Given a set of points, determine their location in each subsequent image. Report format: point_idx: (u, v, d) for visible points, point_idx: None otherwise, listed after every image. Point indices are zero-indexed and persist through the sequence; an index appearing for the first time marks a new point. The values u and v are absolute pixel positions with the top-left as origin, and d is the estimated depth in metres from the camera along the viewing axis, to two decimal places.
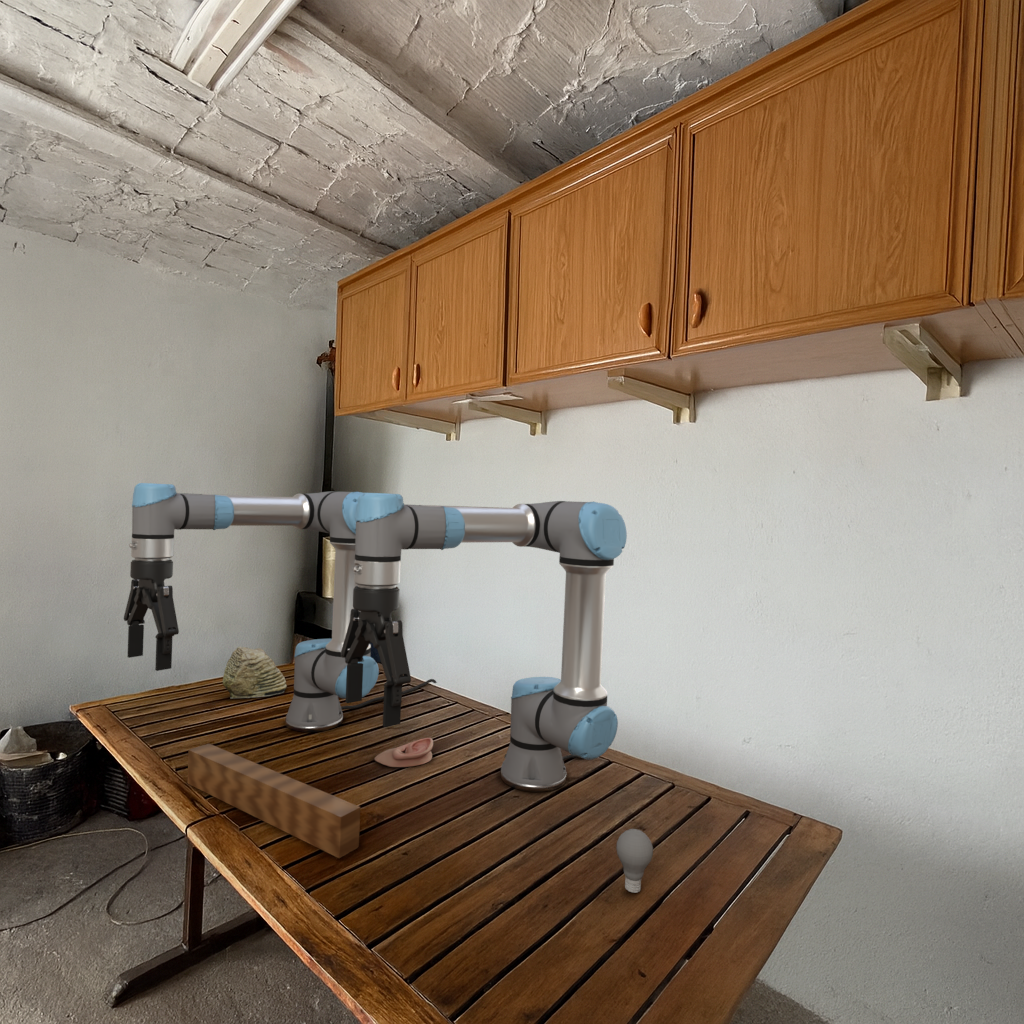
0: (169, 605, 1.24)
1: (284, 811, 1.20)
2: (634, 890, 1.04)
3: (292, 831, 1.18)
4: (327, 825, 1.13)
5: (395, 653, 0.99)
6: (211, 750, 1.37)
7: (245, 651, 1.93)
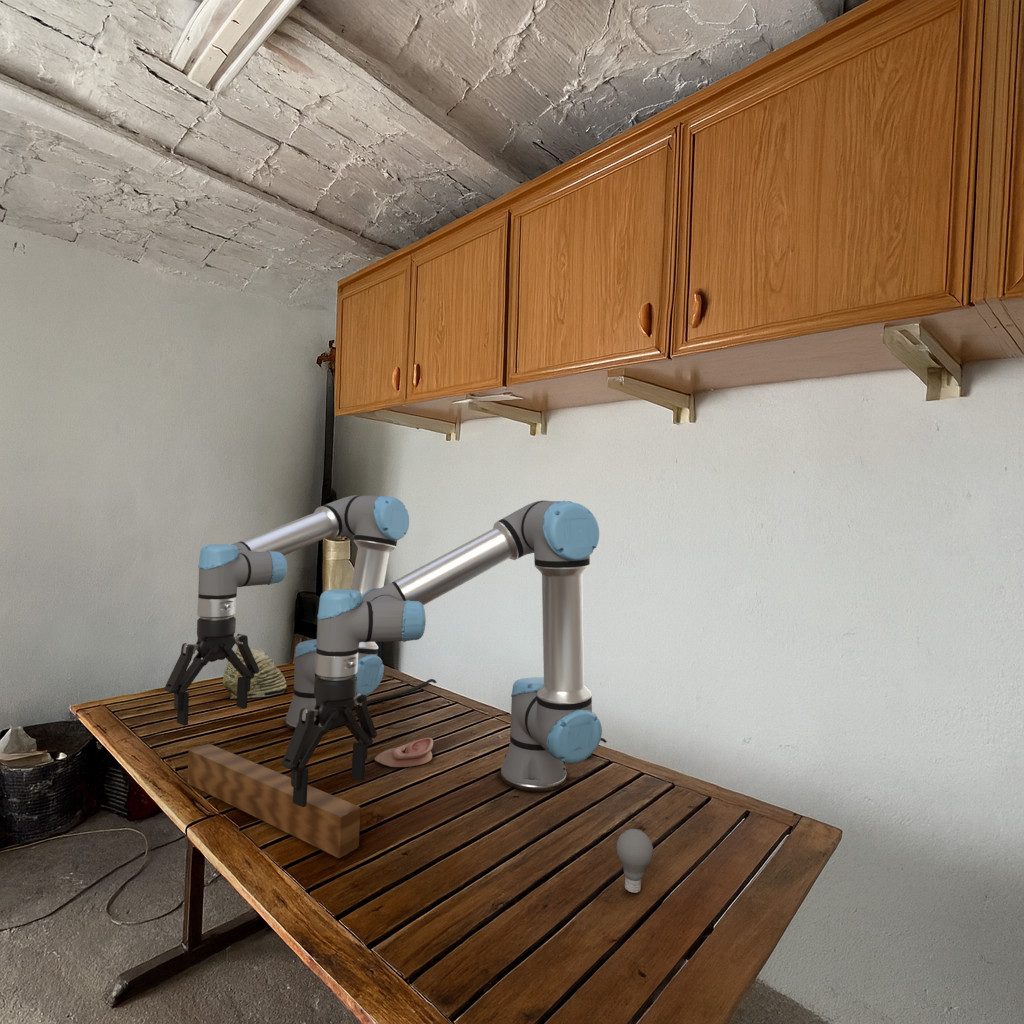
0: None
1: (284, 811, 1.20)
2: (634, 890, 1.04)
3: (292, 831, 1.18)
4: (327, 825, 1.13)
5: None
6: (211, 750, 1.37)
7: None
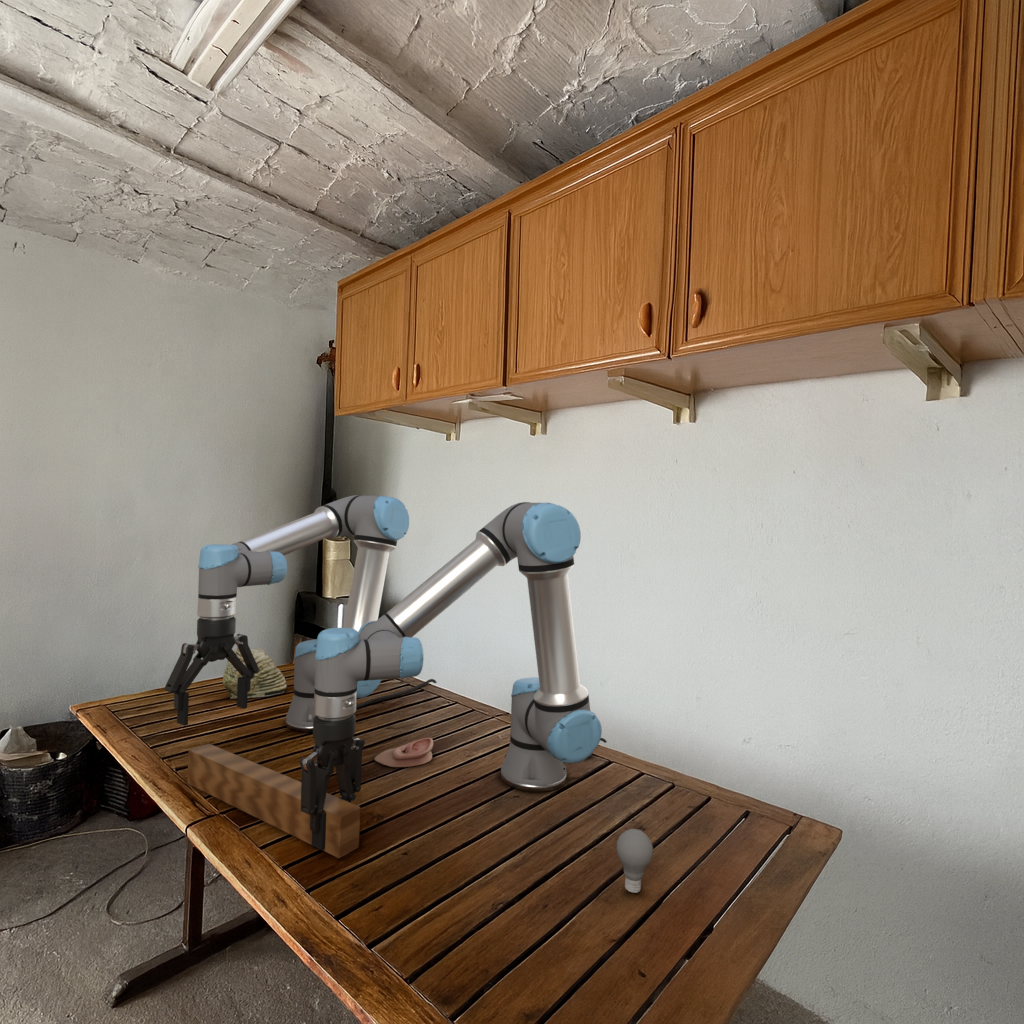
0: None
1: (284, 811, 1.20)
2: (634, 890, 1.04)
3: (292, 831, 1.18)
4: (326, 825, 1.13)
5: None
6: (210, 750, 1.37)
7: None
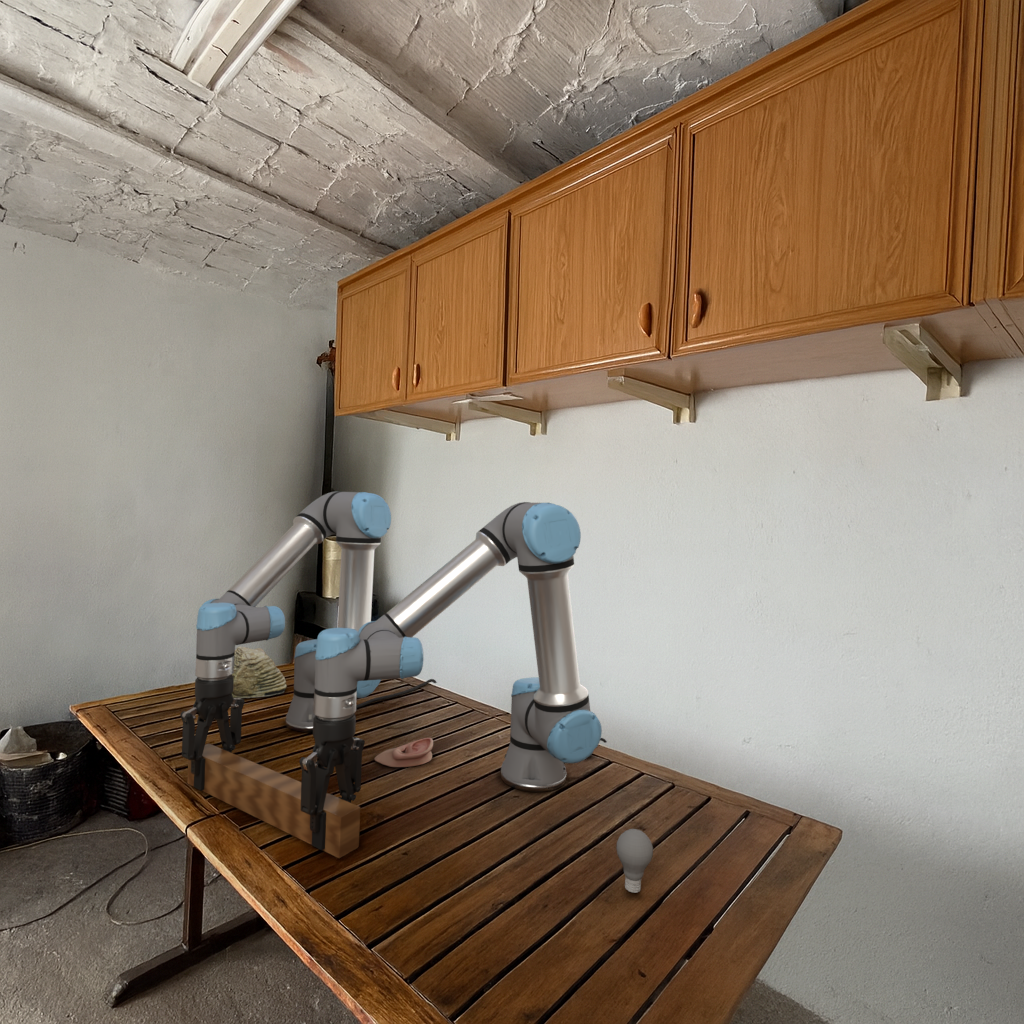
0: None
1: (284, 811, 1.20)
2: (634, 890, 1.04)
3: (292, 831, 1.18)
4: (326, 825, 1.13)
5: None
6: (210, 750, 1.37)
7: (245, 651, 1.93)
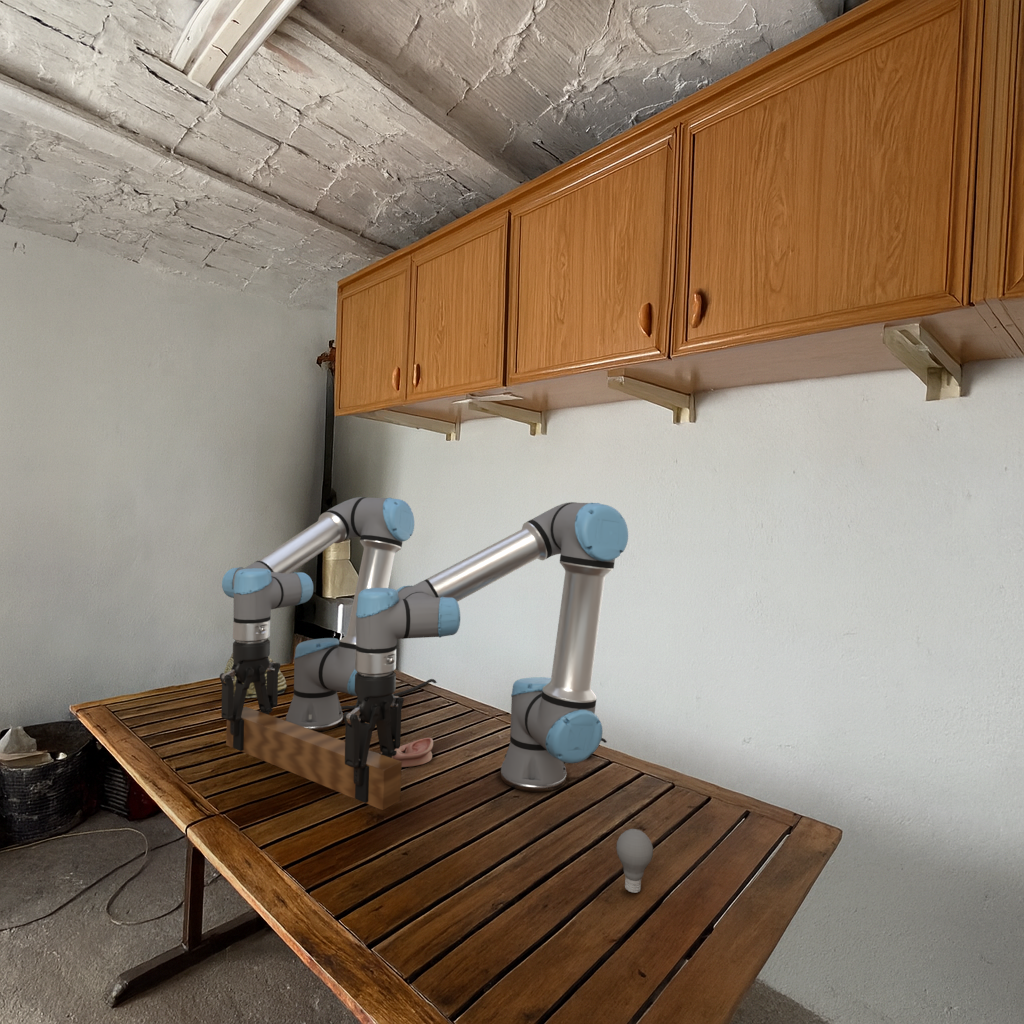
0: None
1: (326, 767, 1.22)
2: (634, 890, 1.04)
3: (334, 786, 1.21)
4: (369, 779, 1.16)
5: None
6: (248, 712, 1.40)
7: None
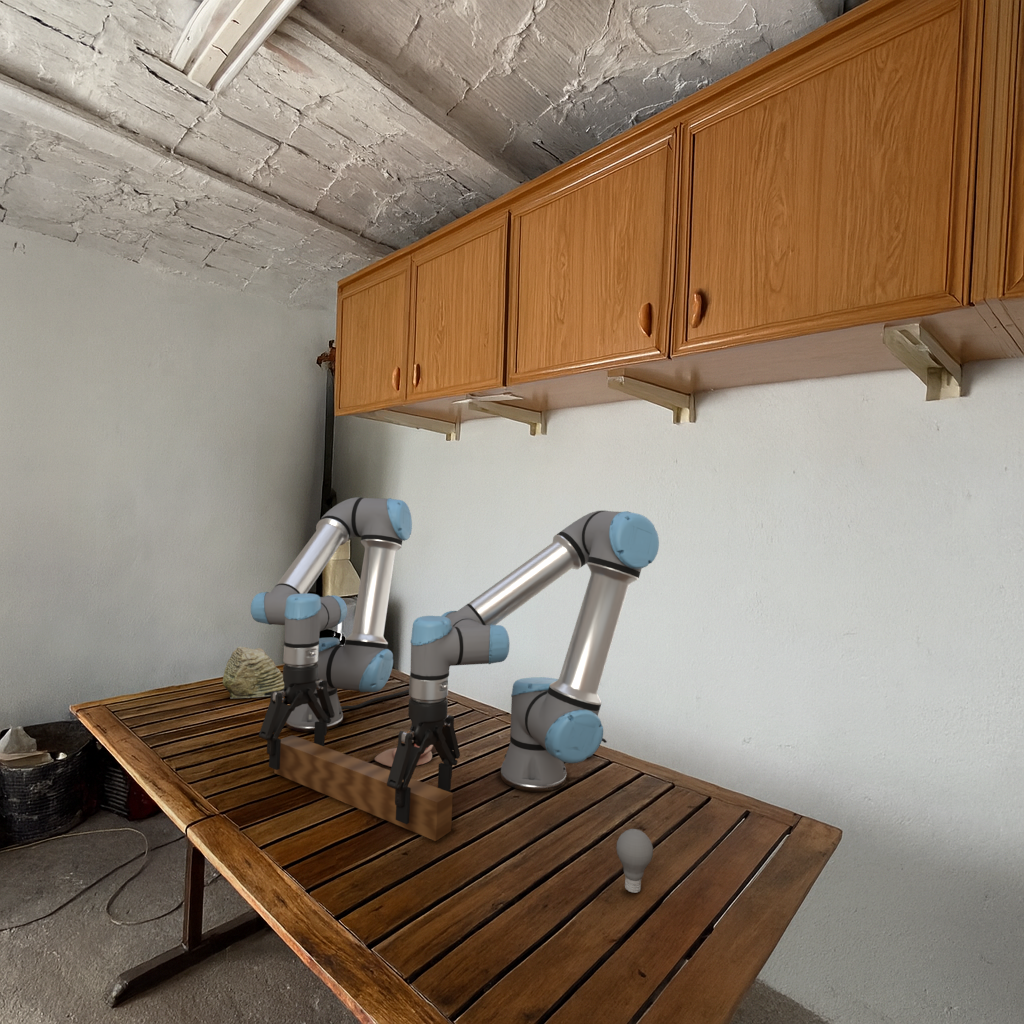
0: None
1: (378, 797, 1.26)
2: (634, 890, 1.04)
3: (386, 816, 1.25)
4: (422, 810, 1.20)
5: None
6: (296, 741, 1.44)
7: (245, 651, 1.93)
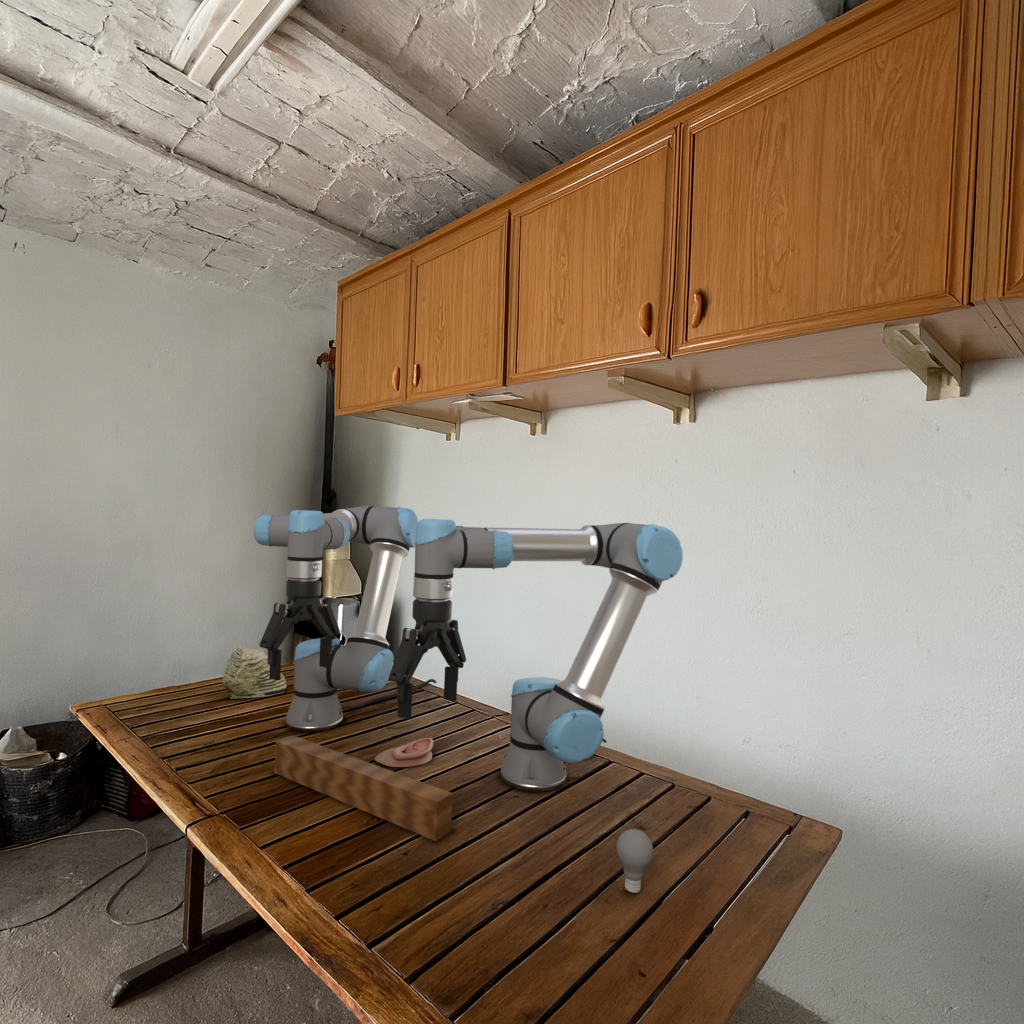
0: None
1: (378, 797, 1.26)
2: (634, 890, 1.04)
3: (386, 816, 1.25)
4: (422, 810, 1.20)
5: None
6: (296, 741, 1.44)
7: (245, 651, 1.93)
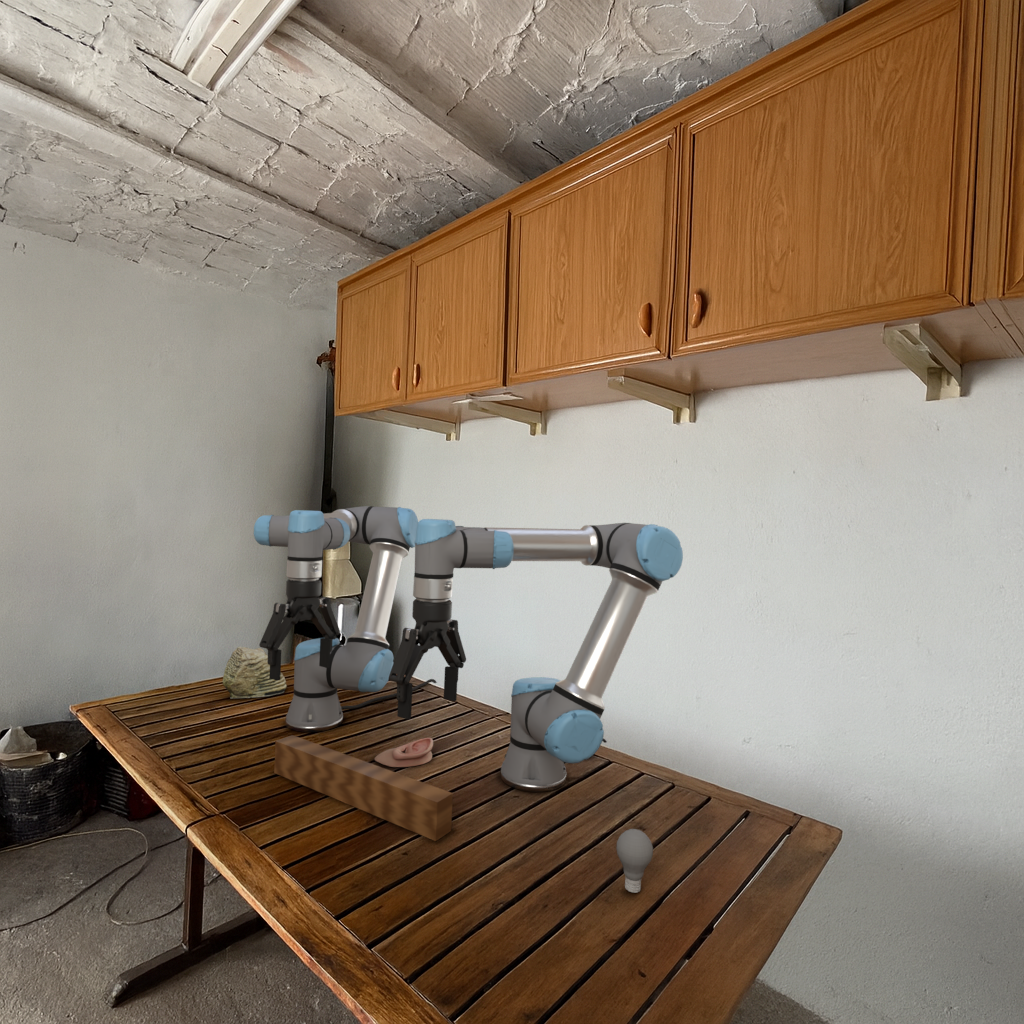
0: None
1: (378, 797, 1.26)
2: (634, 890, 1.04)
3: (386, 816, 1.25)
4: (422, 810, 1.20)
5: None
6: (296, 741, 1.44)
7: (245, 651, 1.93)
